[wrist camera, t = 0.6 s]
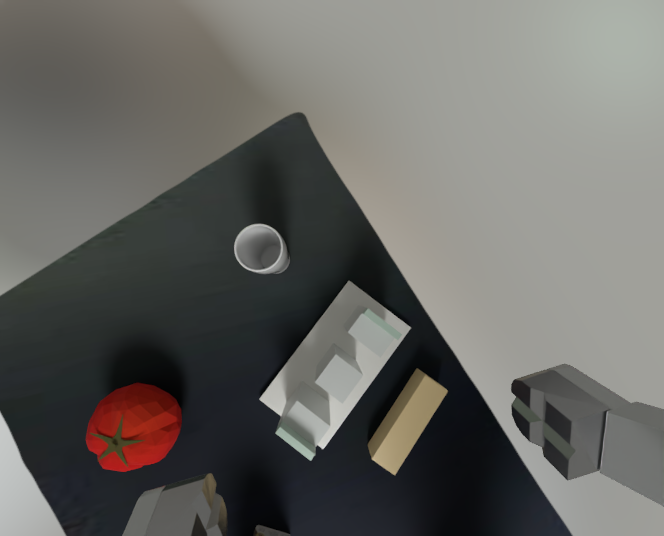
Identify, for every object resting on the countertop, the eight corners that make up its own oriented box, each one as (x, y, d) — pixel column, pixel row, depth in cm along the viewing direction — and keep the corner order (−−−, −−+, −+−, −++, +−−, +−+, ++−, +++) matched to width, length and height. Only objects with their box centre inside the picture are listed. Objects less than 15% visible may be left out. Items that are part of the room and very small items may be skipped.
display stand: (409, 327, 56) (435, 337, 43) (323, 446, 54) (322, 495, 41) (348, 280, 56) (355, 276, 43) (260, 397, 54) (240, 430, 41)
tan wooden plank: (437, 382, 55) (448, 390, 50) (388, 458, 54) (394, 475, 49) (416, 367, 55) (425, 375, 51) (367, 443, 54) (371, 459, 49)
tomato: (105, 435, 53) (51, 470, 42) (133, 366, 54) (87, 383, 43) (178, 460, 53) (142, 502, 42) (204, 390, 54) (175, 414, 43)
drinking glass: (292, 239, 57) (281, 220, 42) (295, 276, 56) (285, 270, 41) (256, 242, 56) (231, 224, 41) (258, 279, 56) (234, 274, 41)
